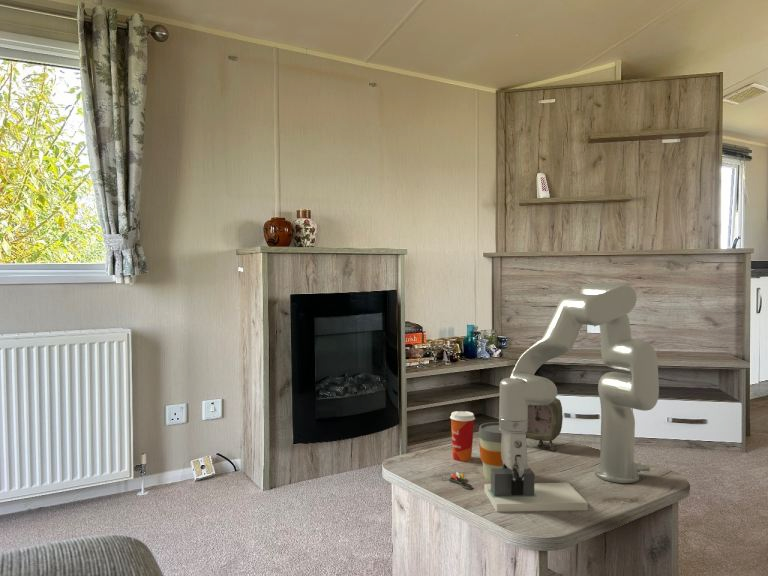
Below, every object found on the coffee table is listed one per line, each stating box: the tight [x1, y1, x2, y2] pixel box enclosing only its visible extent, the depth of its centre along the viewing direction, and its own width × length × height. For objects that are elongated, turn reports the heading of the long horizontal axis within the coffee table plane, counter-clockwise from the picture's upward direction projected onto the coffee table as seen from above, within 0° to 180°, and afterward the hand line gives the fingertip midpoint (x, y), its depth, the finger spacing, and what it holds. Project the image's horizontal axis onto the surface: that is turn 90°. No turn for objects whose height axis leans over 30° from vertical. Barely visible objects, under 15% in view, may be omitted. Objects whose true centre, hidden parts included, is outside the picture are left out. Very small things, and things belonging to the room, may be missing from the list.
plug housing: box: [490, 467, 536, 496], centre depth 158 cm, size 11×4×6 cm, turn 93°
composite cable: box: [448, 471, 473, 491], centre depth 170 cm, size 10×5×2 cm, turn 14°
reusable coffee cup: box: [478, 421, 517, 482], centre depth 176 cm, size 13×13×15 cm
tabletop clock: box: [525, 375, 564, 452], centre depth 206 cm, size 14×9×25 cm, turn 59°
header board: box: [483, 482, 588, 513], centre depth 158 cm, size 24×14×5 cm, turn 93°
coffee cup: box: [449, 410, 476, 462], centre depth 192 cm, size 8×8×15 cm
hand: (512, 487), depth 158 cm, fingers open, 8 cm apart
